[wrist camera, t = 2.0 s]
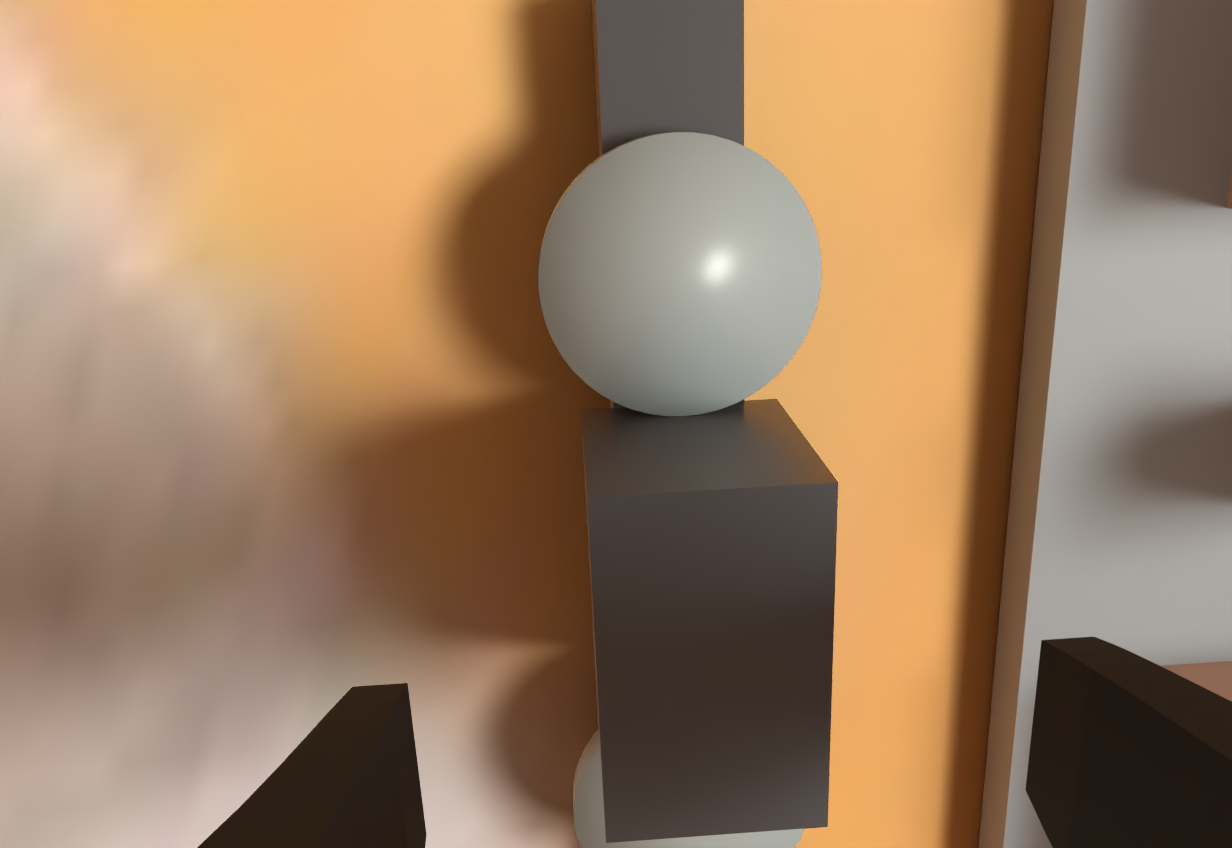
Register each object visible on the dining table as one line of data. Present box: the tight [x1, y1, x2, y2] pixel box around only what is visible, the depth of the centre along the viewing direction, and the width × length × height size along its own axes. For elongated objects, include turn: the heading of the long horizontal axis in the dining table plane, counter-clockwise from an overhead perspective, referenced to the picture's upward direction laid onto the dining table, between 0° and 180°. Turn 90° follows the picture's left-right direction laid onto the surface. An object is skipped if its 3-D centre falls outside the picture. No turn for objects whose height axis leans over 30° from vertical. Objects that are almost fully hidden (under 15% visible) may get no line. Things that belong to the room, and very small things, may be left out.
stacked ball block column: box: [538, 0, 838, 848], centre depth 15 cm, size 17×4×5 cm, turn 2°
